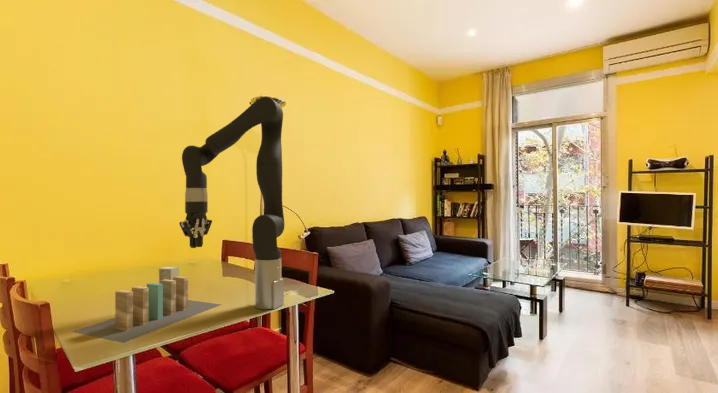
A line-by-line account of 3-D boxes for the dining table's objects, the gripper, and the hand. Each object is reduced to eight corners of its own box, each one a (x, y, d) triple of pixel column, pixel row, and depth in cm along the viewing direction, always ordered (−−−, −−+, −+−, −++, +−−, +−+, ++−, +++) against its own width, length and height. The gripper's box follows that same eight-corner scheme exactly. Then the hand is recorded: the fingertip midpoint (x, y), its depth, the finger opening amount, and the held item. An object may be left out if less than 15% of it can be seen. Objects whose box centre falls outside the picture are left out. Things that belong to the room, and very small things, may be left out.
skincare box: (180, 297, 138) (180, 266, 138) (170, 300, 134) (170, 268, 134) (167, 296, 140) (167, 265, 140) (158, 299, 136) (158, 267, 136)
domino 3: (157, 319, 111) (157, 285, 112) (146, 317, 113) (146, 283, 113) (162, 317, 113) (162, 283, 113) (151, 316, 115) (151, 282, 115)
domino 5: (177, 307, 124) (177, 276, 124) (188, 308, 122) (188, 277, 122) (173, 308, 123) (173, 277, 123) (183, 310, 121) (183, 278, 121)
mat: (221, 305, 127) (221, 304, 127) (123, 344, 94) (123, 342, 94) (176, 299, 135) (176, 298, 135) (72, 332, 102) (72, 331, 102)
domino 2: (137, 321, 110) (137, 286, 110) (148, 323, 108) (148, 287, 109) (131, 322, 109) (131, 287, 109) (143, 325, 107) (143, 289, 107)
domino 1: (121, 326, 106) (121, 290, 106) (132, 328, 104) (132, 291, 104) (115, 328, 104) (115, 291, 104) (126, 330, 102) (127, 293, 102)
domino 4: (165, 311, 120) (165, 279, 120) (175, 313, 118) (175, 280, 118) (160, 313, 118) (160, 280, 118) (171, 314, 116) (171, 281, 116)
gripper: (188, 200, 121) (188, 250, 121) (218, 200, 134) (218, 245, 134) (172, 200, 124) (172, 249, 124) (203, 200, 137) (203, 244, 137)
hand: (196, 247), depth 129 cm, fingers closed
